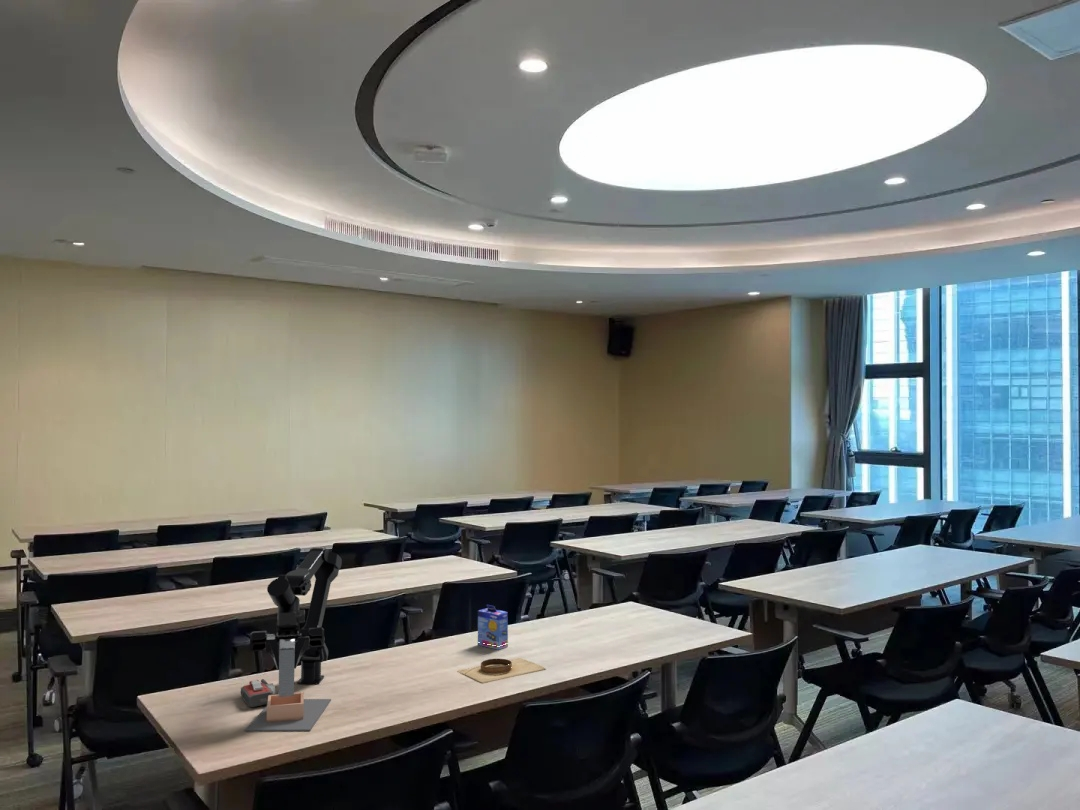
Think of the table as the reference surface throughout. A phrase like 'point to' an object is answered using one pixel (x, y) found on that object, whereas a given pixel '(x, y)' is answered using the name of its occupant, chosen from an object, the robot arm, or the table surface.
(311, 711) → the mat
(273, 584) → the robot arm
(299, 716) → the open box
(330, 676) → the table surface
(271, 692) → the grey red device
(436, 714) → the table surface
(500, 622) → the ink cartridge box
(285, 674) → the grey block
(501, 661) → the board
